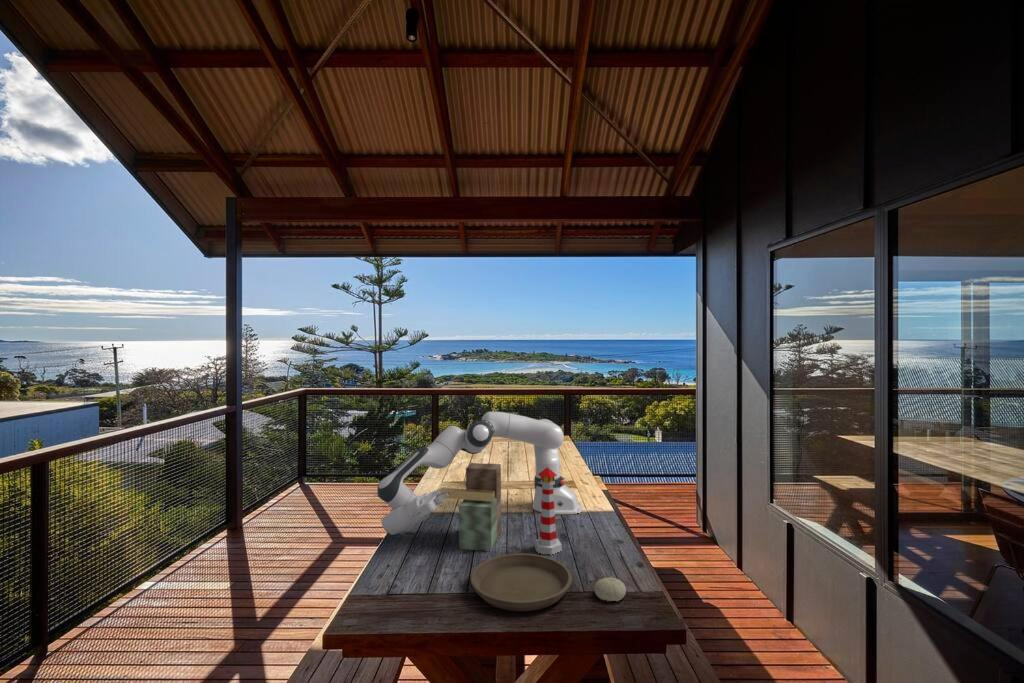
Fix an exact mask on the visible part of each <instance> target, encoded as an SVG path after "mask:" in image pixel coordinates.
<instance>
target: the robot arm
mask: <svg viewBox="0 0 1024 683" xmlns="http://www.w3.org/2000/svg"><path fill="white" fill-rule="evenodd" d="M493 437H499V438H503V439H508V440H513V441H519V442H523V443H525V444H530V445H533V448H534V449H533V451H534V457H535V474H534V475H535V476H534V478H533V479H534V480H533V482H534V483H533V484H534V485H533V486H534V497H533V501H532V505H531V506H532V507H531V508H532V510H534V511H536V512H540V513H541V502H542V484H541V477H540V476H539V473H540V472H542V471H543V470H544V469H546V468H547V467H548V468H549V469H550V470H552V471H553V472H554V473H555V474H556V475H557V476H554V481H555V484H554V485H553V494H554V510H555V515H578V514H577V513H579V514H580V513H581V512H582V511H583V505H582V503H581V502H579V501H578V498H577V494H576V493H575V491H573V490H572V489H570V487H568V486H567V485H566V484H565V483H566V481H565V476H561V458H560V453H559V447H560V448H561V446H562V445H563V443H564V440H565V436H564V432H563V430H562V428H561V427H560V426H559V425H558V424H556V423H554V422H553V421H552V420H549V419H548V418H547V419H546V418H541V419H536V418H532V417H529V416H525V415H519V414H515V413H509V412H504V411H487V412H486V413H484V414H483V416H482V418H481V420H479V421H476V422H474V423H471V425H469V427H468V428H466V430H465V429H464V430H463V429H461V428H460V427H458V426H456V425H450V426H448V427H446V428H445V429H444V430H442V432H441V433H440V434H439V435H438V436H437V437H436V438H434V440H433V442H432V443H431V444H430V445H428V446H425V447H419V448H418V449H417V450H415V451H413V453H412V454H410V455H409V456H408V457H407V458H406V459H405V460H404V461H403V462H402V463H400V464H399V465H398V466H397V467H396V468H395V469H394V470H393V471H391V473H389V474H387V475H386V476H385V477H382V479H381V480H380V481H379V483H378V485H377V490H376V491H377V497H378V498H379V499H380V500H382V501H383V502H385V503H386V504H387V505H388V506H389V507H390V508H391V509H390V511H389V513H387V514H386V515H384V516H383V517H382V518H381V526H382V527H383V530H384V531H385V532H387V533H388V534H389V535H391V536H394V535H398V534H400V533H403V532H405V531H406V530H408V529H410V528H411V527H412V526H413V525H417V524H420V523H421V522H423V521H425V520H427V519H428V518H430V517H431V513H432V512H433V511H434V510H435V509H437V508H438V506H440V505H441V504H442V503H443V502H444V501H445V500H447V499H446V498H448V497H449V496H450V495H449V493H448V492H446V493H444V494H443V495H441V489H442V488H447V487H445V486H443V487H440V488H438V489H436V490H433V491H432V492H429V493H427V492H426V493H424V494H423V495H417V494H416V493H415V492H414V491H412V489H411V488H409V487H408V486H407V485H406V484H405V483H404V480H405V479H406V478H407V477H408V476H409V475H410V474H411V473H412V472H413V471H414V470H415V469H416V468H417V467H418V466H422V465H423V466H427V467H429V468H432V469H438V470H439V469H444V468H447V467H448V466H449V465H450V464H451V463H452V462H453V460H454V459H455V458H456V456H457V454H458V453H459V452H460V451H463V452H466V453H468V454H470V455H471V454H472V455H476V454H477V455H478V454H479V453H481V452H482V451H483V450H485V449H486V448H487V446H488V445H489V444H490V442H491V441H492V438H493Z"/></svg>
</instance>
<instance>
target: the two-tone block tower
mask: <svg viewBox="0 0 1024 683" xmlns="http://www.w3.org/2000/svg"><path fill="white" fill-rule="evenodd" d="M501 464H502V463H501ZM501 464H499V463H478V462H474V463H473V462H471V463H470V464H469V465H468V466H466V468H465V489H473V490H492V491H495V499H494V500H493V501H480V500H463V499H462V501H461V502H460V503H459V505H458V541H459V542H458V549H459V550H467V549H468V551H481V550H492V551H493V549H492V548H494V547H495V545H496V543H497V541H498V539H499V537H500V536H499V535H501V534H502V470H501V468H502V465H501ZM500 533H501V534H500ZM494 544H495V545H494ZM493 546H494V547H493Z"/></svg>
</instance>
